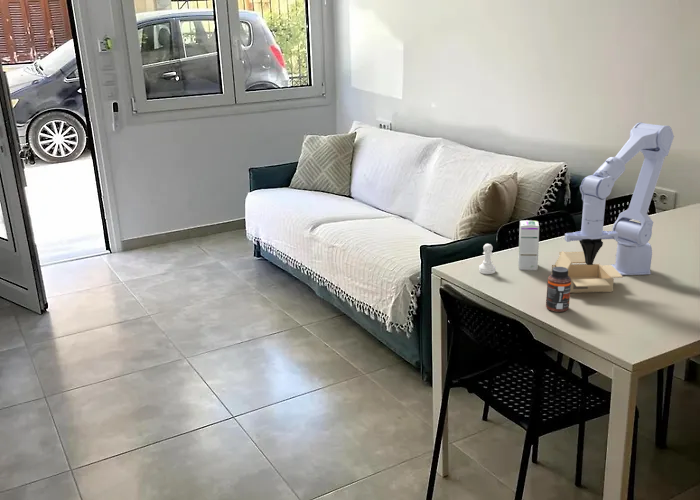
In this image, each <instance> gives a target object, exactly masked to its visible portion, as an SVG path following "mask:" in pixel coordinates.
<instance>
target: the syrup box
mask: <svg viewBox="0 0 700 500" xmlns="http://www.w3.org/2000/svg"><path fill="white" fill-rule="evenodd" d="M539 224H540V223H539V221H538V220H532V219H530V220H528V219H526V220H519V230H518V231H519V232H518V233H519V235H518V237H519V238H518V258H517V259H518V260H517V262H518V263H517V264H518V265H517V266H518V270H520V271H538V266H539V265H538V263H539V245H540V244H539V243H540V225H539Z"/></svg>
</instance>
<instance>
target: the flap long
mask: <svg viewBox="0 0 700 500" xmlns="http://www.w3.org/2000/svg"><path fill="white" fill-rule="evenodd" d="M560 252H561V254H559V256H558V258H557V259H556V261H555V264H554V265H556V266H557V267H565V268H567V269H569V267H570V266H571V264H573V263H572V261H571V260H570V259H569V257H568V256H567V255H566V254H565V253H564V252H565V251H563V250H562V251H560Z"/></svg>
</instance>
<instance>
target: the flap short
mask: <svg viewBox="0 0 700 500" xmlns="http://www.w3.org/2000/svg"><path fill="white" fill-rule="evenodd" d="M561 252H562V251H559V253H558V254H559V255H560V254H561ZM564 253H565V254H566V255H567V256H568V257H569V259H570V260H571V261H572V264H586V263H585V256H584V252H583V251H564Z"/></svg>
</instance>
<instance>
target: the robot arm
mask: <svg viewBox="0 0 700 500" xmlns="http://www.w3.org/2000/svg"><path fill="white" fill-rule="evenodd" d="M674 137H675V136H674V132H673V130H672V127H671V126H670V125H662V124H654V123H645V122H642V121H641V122H637V123H635V124H634V126H633V127H632V128H631V129H630V131H629V138H628V140H627V141H626V142H625V143H624V144H623V146H622V147H621V149H620V150H619V151H618V152H617V154H616V155H615V156H610V157H608V158H607V159H605V161H604V162H603V163H602V164H601V165H600V166H599V167H598V169H596V171H595V172H594V173H593V174H589V175H587V176H585V177H584V178H583V179H582V180H581V184H580V185H579V191H580V194H581V200H582V215H581V217H582V218H581V227H580V228H581V229H580V230H579V231H578V230H577V231H575V232H574V231H573V232H566V233H564V241H565V242H567V243H570V242H575V241H577V242H578V241H579V243H580V246H581V248H582V252H584V256H585V263H584V264H587V265H593V264H594V261H595V258H596V256H597V254H598V253H599V251H600V249H601V248H602V247H603V245H604V241H603V240H614V241H615V242H617V246H616V254H615V263H614V264H610V265H612V266H613V267H614V268H615V269H616V270H617V271H618V272H619V273H620V274H621V275H622V276H636V275H637V276H640V275H641V276H642V275H644V276H645V275H651V274H652V273H651V267H652V266H651V264H652V257H653V249H652V244H650V243H649V242H650V240H651V237H652V235H653V230H652V229H653V225H654V221H653V219H652V218H651V217H650V216H649V214H648V211H649V209H650V205H651V201H652V198H653V196H654V192H655V189H656V187H657V184H658V180H659V178H660V175H661V171H662V168H663V165H664V161H665V160H666V159H665V158H666V157H667V156H668V155H669V154H670V151H671V147H672V145H673V142H674V141H673V140H674ZM640 152H641V153H642V155H643V157H644V159H643V162H642V165H641V168H640V171H639V174H638V177H637V181H636V183H635V187H634V190H633V192H632V196H631V200H630V203H629V205H628V208H627V209H626V210H624V211H622V212H621V211H620V213H619V214H618V217H617V219H616V220H615V221H614V223H613V225H612V230H611V231H610V230H604V221H605V212H606V211H605V209H606V200H607V198H608V197H609V196H610V194H611V193H612V189H613V187H614V185H615V182H616V181H617V180H618V179H619V178H620V177H621V176H622V174H623V173H624V172H625V171H626V164H627V163H629V162H630V161H631V160H632V159H633V158H634V157H635V156H636V155H637V154H639V153H640ZM633 220H634V221H633ZM636 221H638V222H636Z"/></svg>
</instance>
